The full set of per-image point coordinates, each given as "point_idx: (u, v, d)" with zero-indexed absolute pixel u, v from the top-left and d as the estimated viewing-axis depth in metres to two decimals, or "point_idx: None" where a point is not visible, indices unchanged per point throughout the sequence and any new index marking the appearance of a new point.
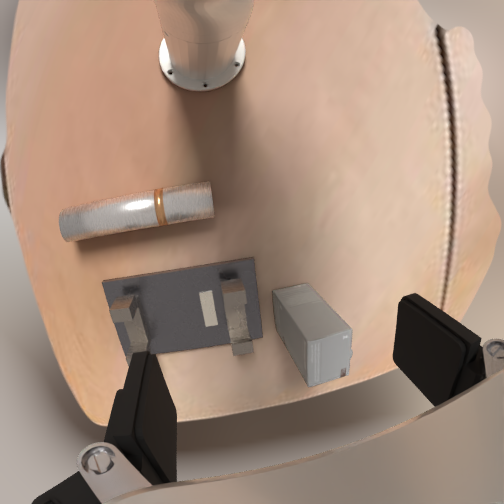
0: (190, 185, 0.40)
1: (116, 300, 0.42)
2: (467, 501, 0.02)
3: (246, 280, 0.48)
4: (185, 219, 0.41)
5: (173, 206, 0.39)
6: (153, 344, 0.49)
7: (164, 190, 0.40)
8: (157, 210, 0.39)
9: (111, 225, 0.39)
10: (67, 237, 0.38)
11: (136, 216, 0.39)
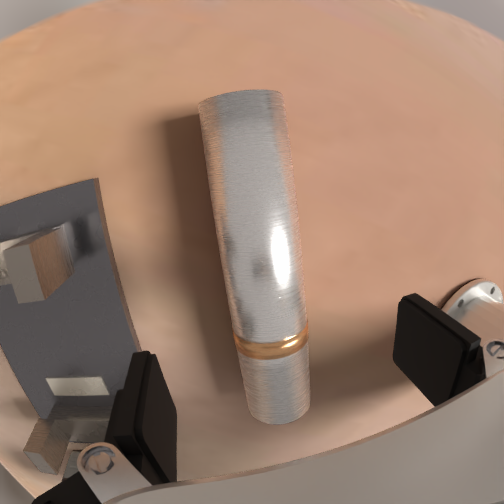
0: (309, 377, 0.22)
1: (55, 237, 0.15)
2: (467, 501, 0.02)
3: None
4: (251, 383, 0.20)
5: (283, 372, 0.19)
6: None
7: (307, 342, 0.20)
8: (277, 346, 0.18)
9: (246, 241, 0.17)
10: (218, 107, 0.15)
11: (268, 305, 0.18)
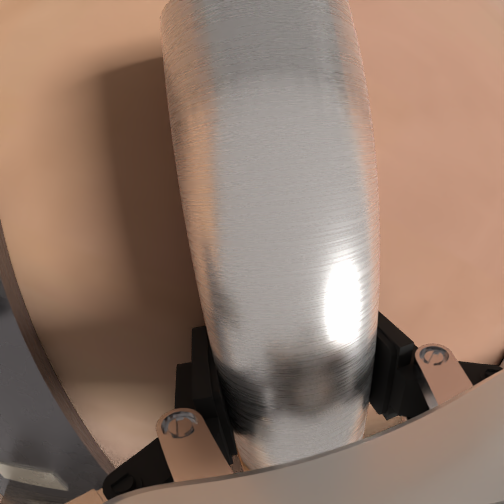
0: None
1: None
2: (467, 500, 0.02)
3: None
4: None
5: None
6: None
7: None
8: None
9: (275, 345, 0.06)
10: (206, 3, 0.05)
11: (312, 446, 0.08)
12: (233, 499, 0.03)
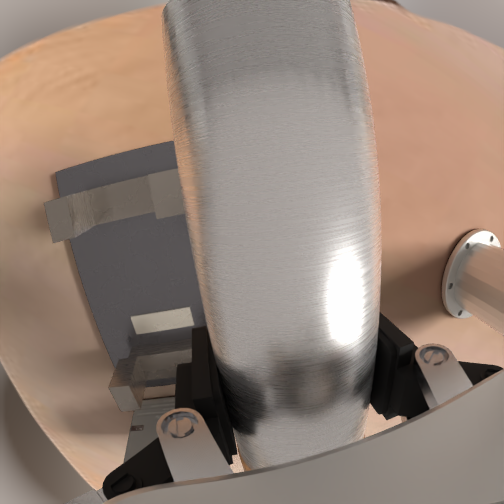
0: None
1: None
2: (467, 501, 0.02)
3: None
4: None
5: None
6: None
7: None
8: None
9: (277, 342, 0.06)
10: (208, 0, 0.05)
11: (314, 445, 0.07)
12: (233, 499, 0.03)
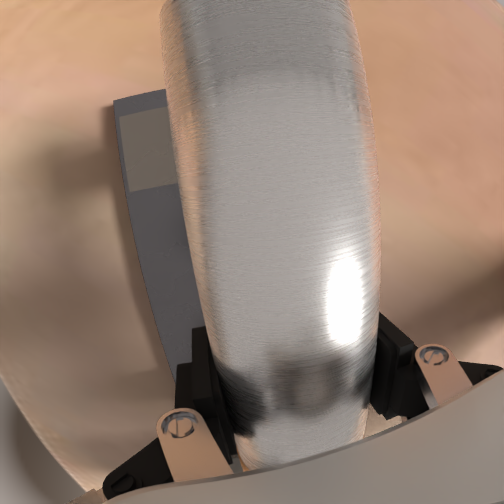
0: None
1: None
2: (467, 501, 0.02)
3: None
4: None
5: None
6: None
7: None
8: None
9: (276, 343, 0.06)
10: None
11: (313, 446, 0.07)
12: (233, 499, 0.03)
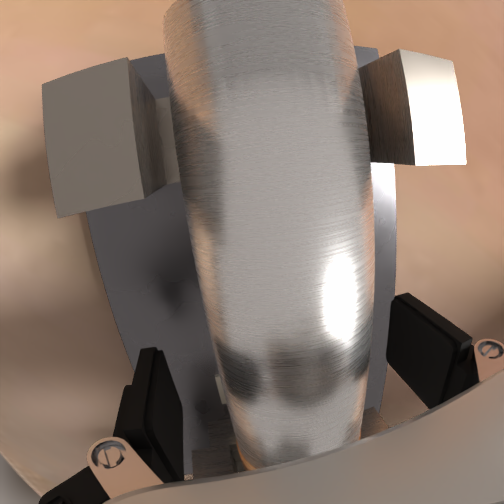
0: None
1: None
2: (467, 501, 0.02)
3: None
4: None
5: None
6: None
7: None
8: None
9: (270, 335, 0.07)
10: (204, 9, 0.05)
11: (307, 437, 0.08)
12: (233, 499, 0.03)
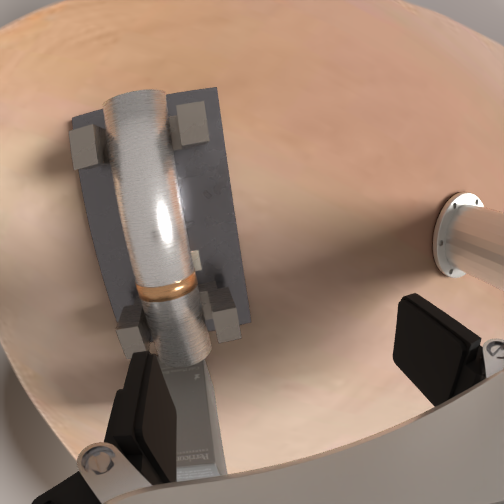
0: (204, 327, 0.26)
1: None
2: (467, 501, 0.02)
3: None
4: (150, 326, 0.24)
5: (170, 315, 0.23)
6: (97, 169, 0.25)
7: (194, 291, 0.25)
8: (161, 290, 0.23)
9: (129, 203, 0.21)
10: (110, 108, 0.19)
11: (149, 254, 0.22)
12: (233, 499, 0.03)
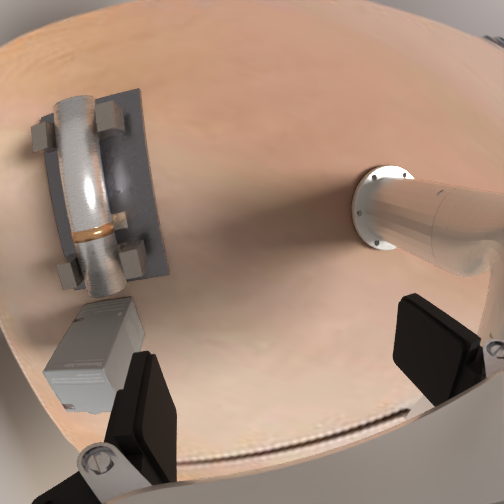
0: (117, 267, 0.32)
1: (120, 108, 0.30)
2: (467, 501, 0.02)
3: None
4: (79, 263, 0.31)
5: (89, 252, 0.30)
6: (56, 154, 0.32)
7: (108, 237, 0.31)
8: (83, 233, 0.29)
9: (64, 173, 0.27)
10: (55, 110, 0.25)
11: (75, 207, 0.28)
12: (233, 499, 0.03)
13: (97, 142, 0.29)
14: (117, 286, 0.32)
